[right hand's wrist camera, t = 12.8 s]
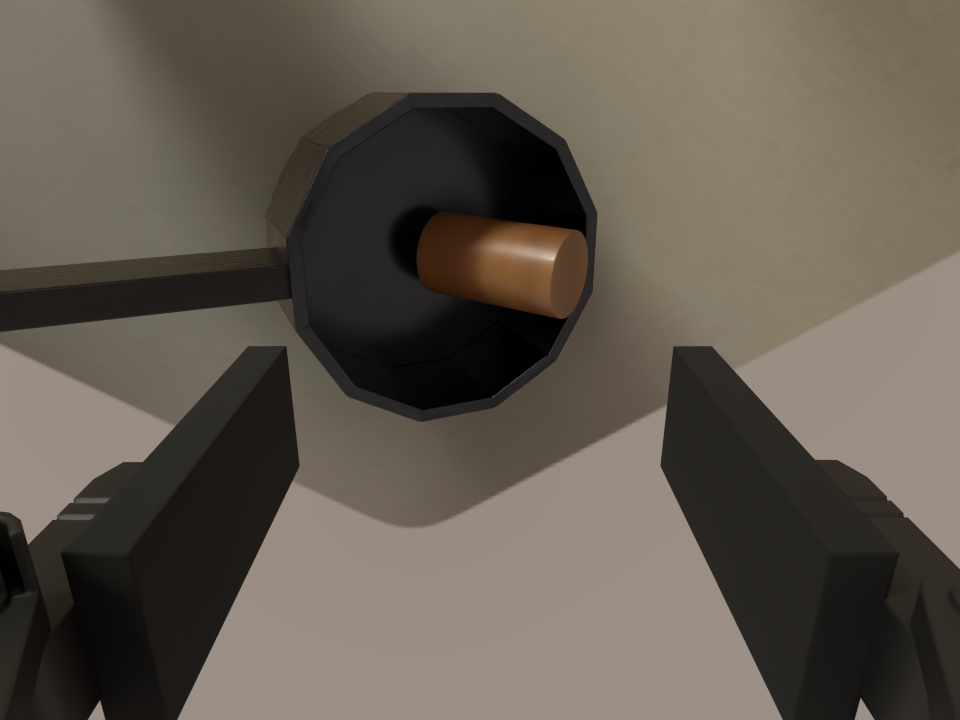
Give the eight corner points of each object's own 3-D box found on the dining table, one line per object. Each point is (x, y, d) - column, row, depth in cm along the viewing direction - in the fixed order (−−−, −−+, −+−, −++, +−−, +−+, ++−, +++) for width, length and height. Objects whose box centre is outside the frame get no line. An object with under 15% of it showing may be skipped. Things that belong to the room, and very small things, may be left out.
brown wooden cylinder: (416, 301, 28) (547, 329, 25) (415, 218, 27) (554, 238, 24) (461, 282, 31) (584, 306, 28) (462, 206, 30) (591, 223, 27)
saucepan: (535, 92, 30) (605, 92, 25) (528, 350, 34) (586, 390, 30) (-322, 92, 19) (-468, 93, 15) (-174, 464, 24) (-252, 553, 19)
